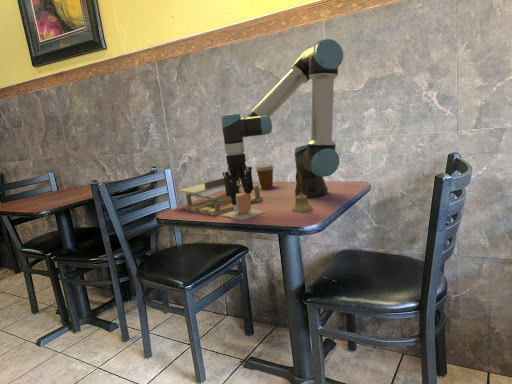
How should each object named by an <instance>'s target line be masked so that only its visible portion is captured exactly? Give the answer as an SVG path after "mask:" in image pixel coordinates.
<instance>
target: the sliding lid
mask: <svg viewBox="0 0 512 384" xmlns="http://www.w3.org/2000/svg"><path fill="white" fill-rule="evenodd" d="M237 183H238V181H237ZM221 188H225V181H224V177H222V178H217V179H214V180H210V181H207V182H204V183H202V184H198V185H193V186H190V187H185V188H181V189H178V190H177V191H178V193H180V194H181V193H182V194H186V193H188V194H195V195H196V194H202V193H203V194H204V193H207V192H211V191H213V190H218V189H221Z"/></svg>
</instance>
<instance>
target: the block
mask: <svg viewBox="0 0 512 384" xmlns="http://www.w3.org/2000/svg"><path fill="white" fill-rule="evenodd" d="M236 196H237V197H238V202H239V210H240V212H239V213H244V212H248V211H251V209H252V207H251V204H250V197H249V194H248V193H245V192H238V193H236ZM233 208H234V206H233Z"/></svg>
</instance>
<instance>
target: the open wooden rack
mask: <svg viewBox="0 0 512 384" xmlns="http://www.w3.org/2000/svg"><path fill="white" fill-rule="evenodd" d="M237 186H240V187H242V188H243V186H242V183H240V184H237ZM259 187H260V186H259V185H257V184H256V185H255V184H253V191H254V195H251V194H250V205H251V204H252V205H253V204H255V203H258V202H261V200H262V201H264V197H263V196H261V195H260V188H259ZM185 195H186V196H185V197H186V198H185V199H186V202H187V205H185V206H184V209H185V210H186V211H191V212H195V213H200V214H206V215H210V216H217V215H221V214H225V213H228V212H231V211H232V210H233V211H234V208H233V205H232V204H231V205H227V206H225V207H222V208H221V207H220V206H221V205H224V204H227V203H232V201H231V197H230V196H226V194H224V195H220V196H219V195H218V196H215V195H214V196H213V195H207V194H202V193H199V194H196V195H195V194H188V193H185ZM192 197H197V198H203V199H205V200H202V201H199V202H194V203H192ZM213 207H214V208H213Z"/></svg>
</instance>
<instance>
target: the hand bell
mask: <svg viewBox="0 0 512 384" xmlns="http://www.w3.org/2000/svg"><path fill="white" fill-rule="evenodd" d="M295 182H296V184H297V185H298V192H299V195H298V196H295V199H294V200H295V201H294V206H293V207H292V209H291V211H292V212H293V213H304V212H305V213H306V211H307V212H310V211H312V210H313V209H314V208H313V206H312V205H311V204H310V202H309V199H308V198H307V196H306V195H304V194H303V191H302V175H301V173H300V170H297V171H295Z"/></svg>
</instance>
